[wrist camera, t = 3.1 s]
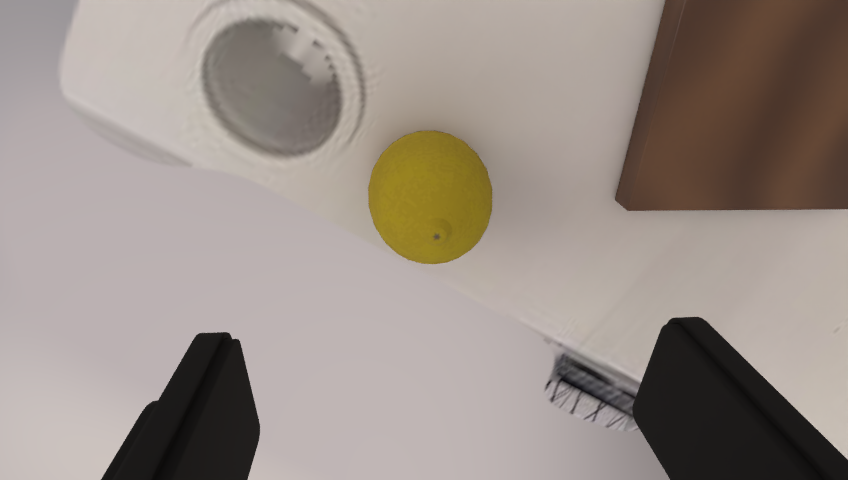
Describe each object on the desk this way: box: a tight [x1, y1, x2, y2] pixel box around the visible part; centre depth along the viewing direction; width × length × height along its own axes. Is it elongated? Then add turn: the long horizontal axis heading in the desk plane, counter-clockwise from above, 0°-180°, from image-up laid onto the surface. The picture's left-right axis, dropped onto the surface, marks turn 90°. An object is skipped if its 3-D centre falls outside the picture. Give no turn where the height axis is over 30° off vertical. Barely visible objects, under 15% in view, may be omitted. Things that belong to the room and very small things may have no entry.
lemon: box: [368, 131, 492, 264], centre depth 19 cm, size 6×6×8 cm
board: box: [615, 0, 848, 211], centre depth 21 cm, size 14×12×2 cm
